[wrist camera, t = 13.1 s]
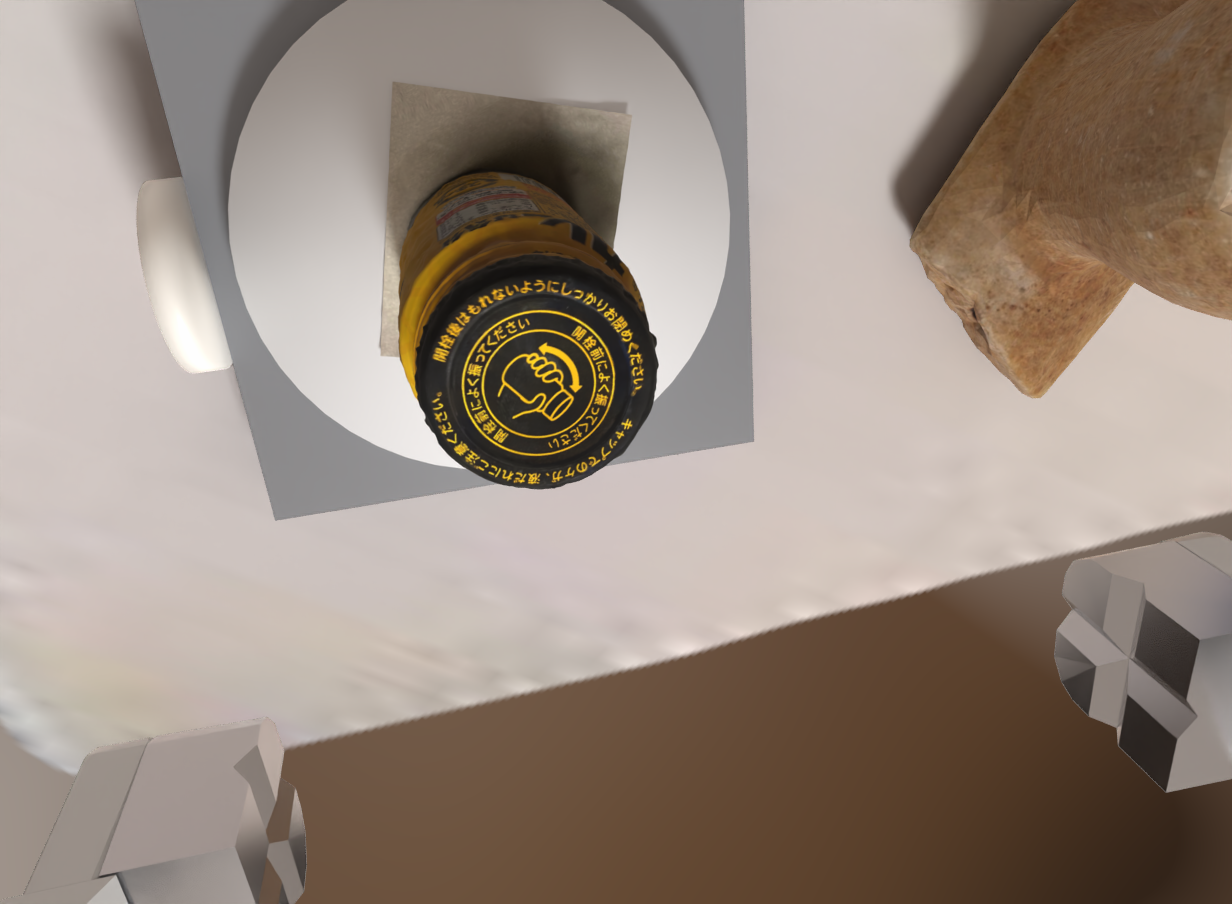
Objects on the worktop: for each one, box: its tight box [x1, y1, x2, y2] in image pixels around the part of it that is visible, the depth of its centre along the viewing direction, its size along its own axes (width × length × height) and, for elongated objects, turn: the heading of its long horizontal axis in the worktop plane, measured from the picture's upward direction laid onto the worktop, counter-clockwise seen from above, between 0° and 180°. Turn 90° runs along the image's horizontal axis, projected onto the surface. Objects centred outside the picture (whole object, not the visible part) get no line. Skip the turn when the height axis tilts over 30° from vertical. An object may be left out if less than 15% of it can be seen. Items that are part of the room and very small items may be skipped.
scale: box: [135, 0, 754, 521], centre depth 31 cm, size 18×19×6 cm
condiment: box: [380, 82, 659, 489], centre depth 25 cm, size 7×8×12 cm
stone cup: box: [910, 0, 1232, 398], centre depth 30 cm, size 15×12×15 cm
